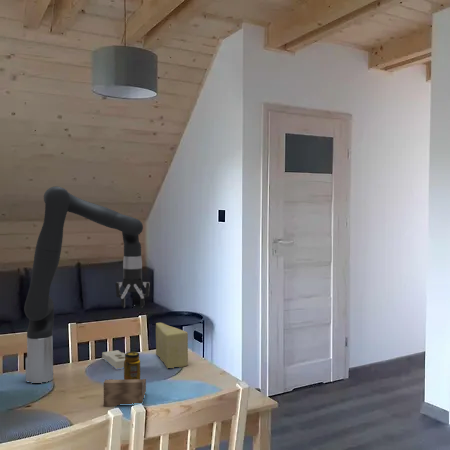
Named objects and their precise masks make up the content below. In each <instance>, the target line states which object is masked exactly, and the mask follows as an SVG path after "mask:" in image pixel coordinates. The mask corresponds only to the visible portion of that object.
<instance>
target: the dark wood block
mask: <svg viewBox="0 0 450 450" xmlns="http://www.w3.org/2000/svg"><path fill="white" fill-rule="evenodd" d="M145 392H146V393H147V379H146V378H142V379H141V378H140V379H128V380H124V379H112V378H111V379H105V380H104V382H103V407H118V406H117V405H120V404H132V403H133V404H134V403H142V402H143V398H144V395H145ZM145 396H146V395H145ZM143 403H144V402H143Z"/></svg>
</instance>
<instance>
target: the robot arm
mask: <svg viewBox="0 0 450 450" xmlns="http://www.w3.org/2000/svg"><path fill="white" fill-rule="evenodd" d="M43 202H44V205H45V206H44V207H45V208H44V218H43V224H42V226H41V229H40V232H39V235H38V239H37V241H36V244H35V245H36V246H35V250H34V256H33V262H32V269H31V279H30V284H29V287H28V292H27V296H26V300H25V302H24V306H23V307H24V308H23V309H24V310H23V311H24V314H25V316H26V318H27V319H29V322H28V327H27V330H26V345H27V346H26V347H27V348H26V351H27V354H26V355H27V356H26V357H25V358H24V359H25V361H24V362H25V382H26V381H29V382H33V383H41V384H43V383H42V382H46V383H49V382H51V381H53V379H54V359H53V358H54V350H53V343H54V342H53V330H54V325H55V324H54V322H55V305H54V304H55V303H54V301H53V299H52V297H51V296H50V290H51V285H52V282H53V280H54V277H55V275H56V272H57V269H58V267H59V263H60V259H61V255H62V254H61V253H62V245H63V239H64V227H65V221H66V217H67V214H68V213H71V214H75V215H78V216H79V217H83V218H85V219H87V220H89V221H92V222H93V223H96V224H98V225H101V226H104V227H107V228H110V229H114V230H116V231H117V230H118V231H120V232H121V233H122V235H121V236H122V240H123V241H122V242H123V261H122V267H123V269H122V271H123V272H122V276H123V278H122V279H123V280H122V281H116V283H115V293H116V294H115V296H116V297H117V298H120V306H121V307H122V308H123V309H125V308H126V295H127V294H128V293H137V294H138V295H139V297H140V304H139V305H140V308H141V309H143V307H144V306H145V298H148V297H149V296H150V287H151V286H150V285H151V283H150V281H143V259H142V244H141V242H140V238H139V235H140V234H142V232H143V230H144V226H143V223H142V222H141V220H140V219H137V218H136V217H133V216H130V215H126V214H123V213H120V212H118V211H117V210H116V211H115V210H113V209H111V208H108V207H106V206H103V205H100V204H96V203H92V202H90V201H87V200H84V199H81V198H79V197H77V196H76V195H73V193H72V194H71V193H70V192H68V190H67V189H66V188H64V187H61V186H51V187H49V188H47V190H46V191H45V192H44V194H43ZM142 286H144V288H145V293H144V292H143V290H142ZM121 287H124V291H123V292H122V293H121ZM48 381H49V382H48Z"/></svg>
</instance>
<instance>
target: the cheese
mask: <svg viewBox="0 0 450 450" xmlns="http://www.w3.org/2000/svg"><path fill="white" fill-rule="evenodd" d="M188 335H189V333H188V332H187V331H185V330H183V329H180V328H177V327H174V326H170V325H168V324H166V323H164V322H156V323H155V354H156V356H157V355H158V356H159V357H160V358H159V357H158V356H157V357H158V358H159V359H160V360H161V361H162V363H163V362H164V363H165V364H164V363H163V364H164V365H165V367H166V369H168V368H173V369H175V368H174V367H179V368H183V367H187V366H189V353H188V352H189V347H188V344H189V343H188V341H189V336H188Z"/></svg>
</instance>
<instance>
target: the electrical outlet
mask: <svg viewBox="0 0 450 450" xmlns="http://www.w3.org/2000/svg"><path fill="white" fill-rule="evenodd" d="M101 354H102V355H101V359H102V358H104V359H106V360H107V361H108V362H109V363H110V364H111V365H112V366H114V367H115V368H116V369H117V368H122V367H124V361H125V354H126V353H125V352H121V351H120V350H119V349H118V350H117V349H116V350H111V351H103V352H102V353H101Z"/></svg>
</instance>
